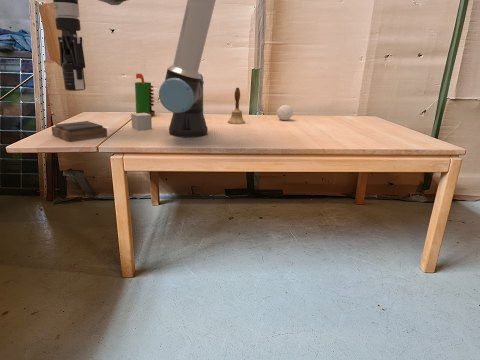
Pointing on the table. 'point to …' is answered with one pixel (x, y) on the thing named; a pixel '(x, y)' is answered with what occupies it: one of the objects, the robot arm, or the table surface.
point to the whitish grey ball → (285, 112)
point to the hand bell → (236, 111)
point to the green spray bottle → (144, 96)
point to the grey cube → (141, 121)
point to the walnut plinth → (79, 131)
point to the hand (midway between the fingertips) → (75, 88)
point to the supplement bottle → (70, 73)
